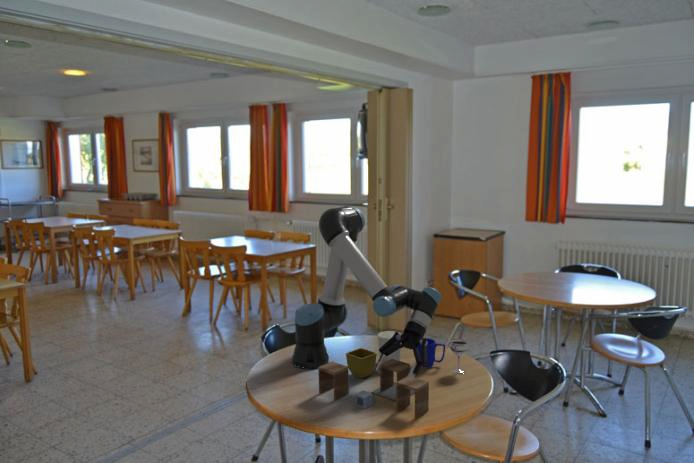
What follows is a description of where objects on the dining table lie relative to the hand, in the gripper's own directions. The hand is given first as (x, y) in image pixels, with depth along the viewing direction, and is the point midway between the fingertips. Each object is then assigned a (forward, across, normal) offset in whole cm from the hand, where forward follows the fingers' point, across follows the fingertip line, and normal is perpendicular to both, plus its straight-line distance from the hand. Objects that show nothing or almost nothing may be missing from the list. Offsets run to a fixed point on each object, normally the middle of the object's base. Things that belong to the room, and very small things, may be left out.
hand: (392, 376), depth 190 cm
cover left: (+14, +16, +5) cm, 22 cm away
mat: (+3, 0, -5) cm, 6 cm away
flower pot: (+1, +19, -8) cm, 21 cm away
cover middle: (+3, 0, -5) cm, 6 cm away
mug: (-17, +4, -26) cm, 31 cm away
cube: (+14, +2, +5) cm, 15 cm away
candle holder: (-11, +18, -20) cm, 29 cm away
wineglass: (-18, -8, -28) cm, 34 cm away
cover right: (+9, -13, 0) cm, 16 cm away
